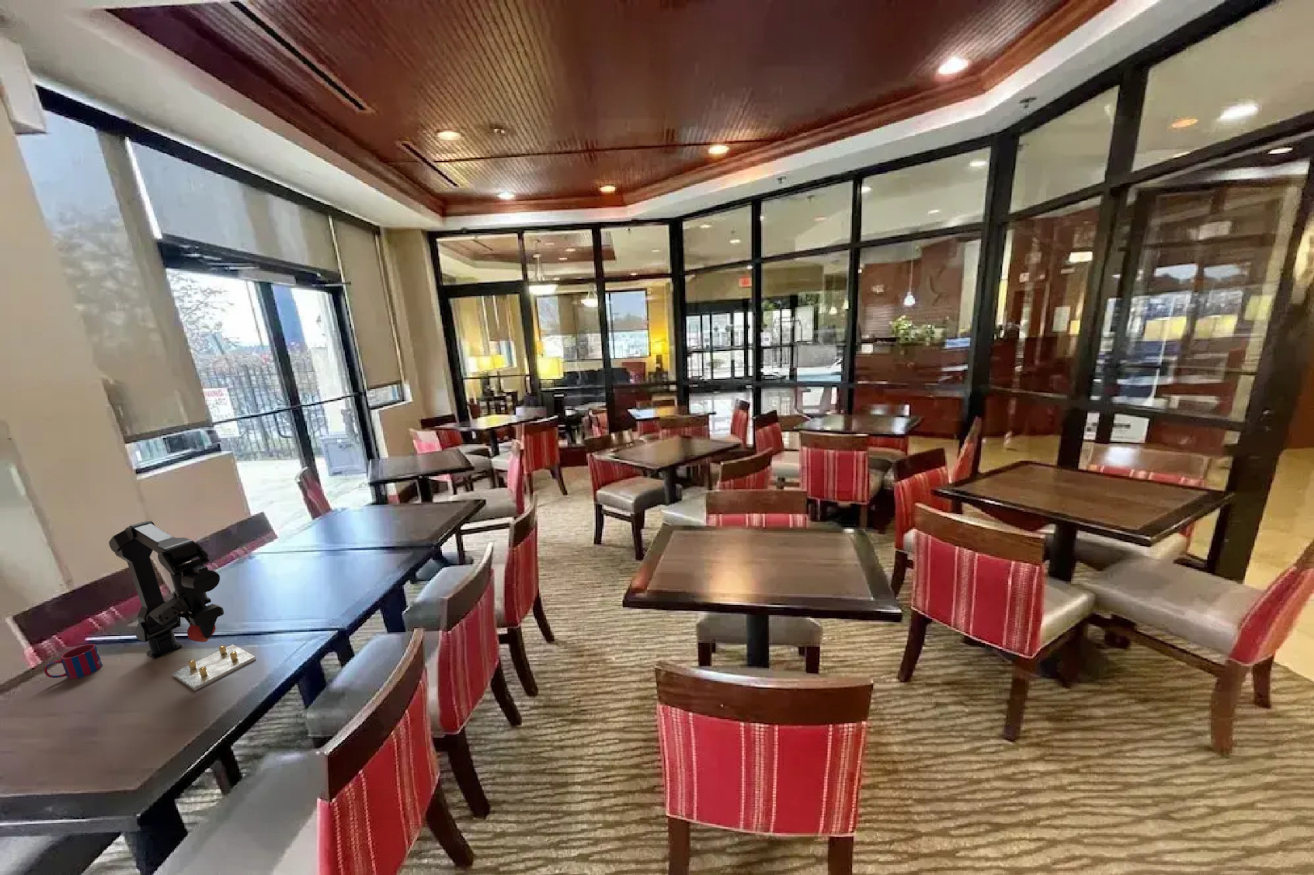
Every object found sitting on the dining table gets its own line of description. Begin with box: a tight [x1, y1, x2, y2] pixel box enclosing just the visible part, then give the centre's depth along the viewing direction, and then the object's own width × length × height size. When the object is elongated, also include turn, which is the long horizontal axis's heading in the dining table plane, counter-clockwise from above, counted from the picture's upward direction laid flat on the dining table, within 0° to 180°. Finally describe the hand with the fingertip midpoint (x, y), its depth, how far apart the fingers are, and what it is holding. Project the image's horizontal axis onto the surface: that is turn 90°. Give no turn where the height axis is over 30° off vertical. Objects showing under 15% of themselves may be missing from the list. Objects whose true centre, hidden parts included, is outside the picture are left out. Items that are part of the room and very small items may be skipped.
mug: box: [43, 643, 103, 680], centre depth 138 cm, size 7×10×7 cm
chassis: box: [172, 644, 257, 692], centre depth 138 cm, size 14×14×4 cm
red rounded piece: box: [186, 624, 217, 643], centre depth 135 cm, size 6×6×8 cm
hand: (203, 635), depth 136 cm, fingers closed on red rounded piece, 6 cm apart
